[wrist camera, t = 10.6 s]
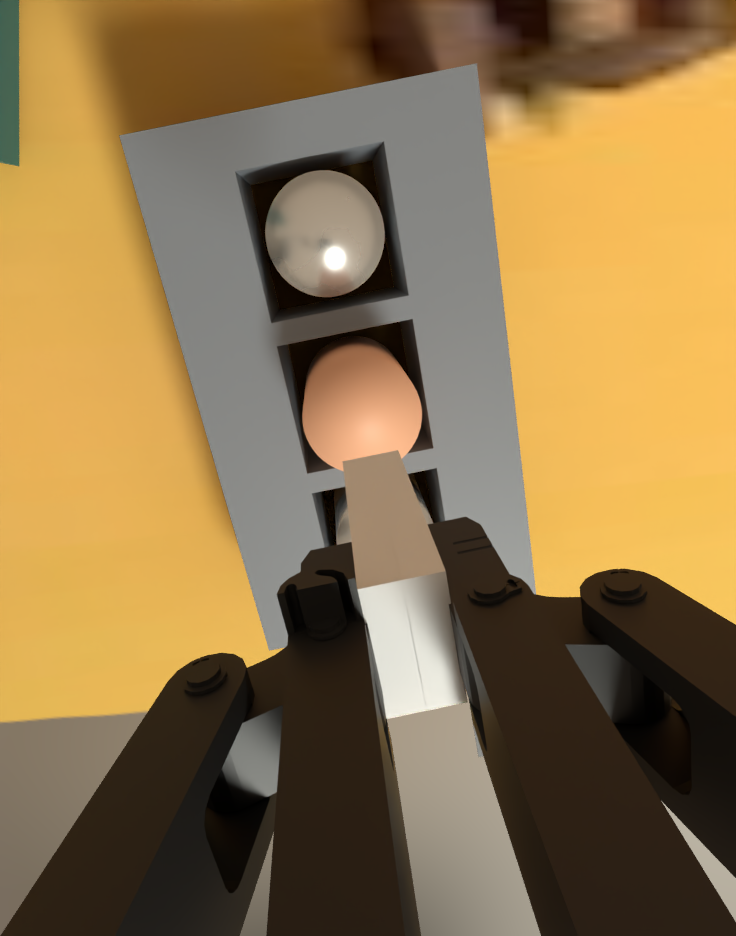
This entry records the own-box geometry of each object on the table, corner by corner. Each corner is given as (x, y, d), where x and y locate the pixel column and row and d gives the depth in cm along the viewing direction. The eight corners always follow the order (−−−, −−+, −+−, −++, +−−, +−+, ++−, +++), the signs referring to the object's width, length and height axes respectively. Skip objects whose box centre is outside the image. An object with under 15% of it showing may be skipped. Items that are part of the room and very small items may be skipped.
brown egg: (317, 440, 32) (316, 484, 26) (295, 347, 30) (290, 371, 24) (410, 421, 32) (430, 460, 26) (393, 327, 30) (411, 346, 24)
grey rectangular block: (276, 590, 38) (269, 650, 32) (157, 156, 30) (119, 135, 24) (504, 544, 38) (536, 596, 32) (447, 98, 30) (476, 63, 24)
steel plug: (288, 296, 32) (280, 307, 26) (265, 195, 30) (252, 183, 25) (380, 277, 32) (393, 284, 26) (363, 175, 30) (372, 158, 25)
